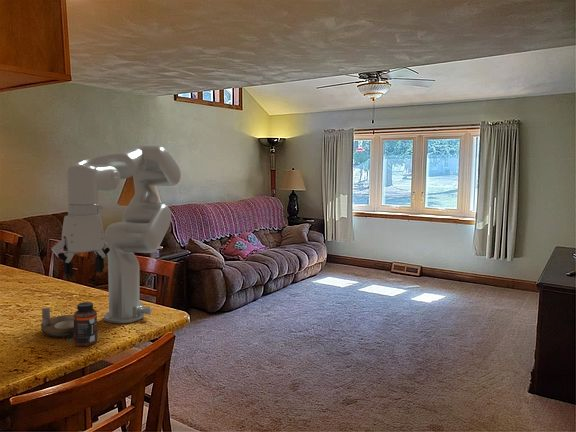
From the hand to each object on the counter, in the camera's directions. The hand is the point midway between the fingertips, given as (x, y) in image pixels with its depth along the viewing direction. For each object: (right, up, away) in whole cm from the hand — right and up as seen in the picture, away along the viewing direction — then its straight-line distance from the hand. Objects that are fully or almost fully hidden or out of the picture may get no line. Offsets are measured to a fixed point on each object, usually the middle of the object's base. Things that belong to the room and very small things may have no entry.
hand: (84, 273), depth 122 cm
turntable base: (-10, -19, +9) cm, 23 cm away
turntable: (-10, -17, +10) cm, 22 cm away
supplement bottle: (-1, -20, +2) cm, 20 cm away
